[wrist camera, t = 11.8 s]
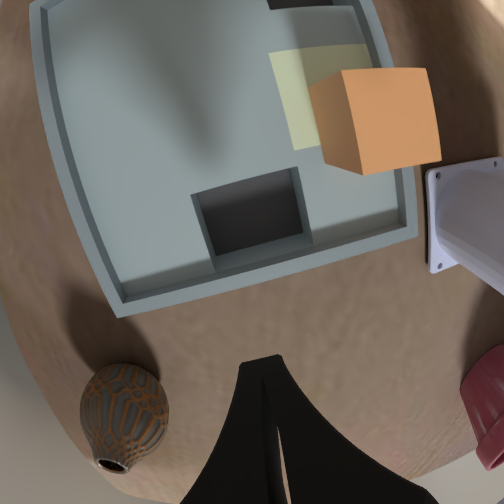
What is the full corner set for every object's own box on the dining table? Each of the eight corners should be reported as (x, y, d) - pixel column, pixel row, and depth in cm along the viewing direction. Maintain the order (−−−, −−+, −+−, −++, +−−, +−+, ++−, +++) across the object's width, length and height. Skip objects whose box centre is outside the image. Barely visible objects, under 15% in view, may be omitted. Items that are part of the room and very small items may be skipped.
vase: (80, 364, 21) (45, 443, 13) (134, 337, 20) (104, 432, 12) (132, 412, 23) (116, 489, 15) (189, 392, 23) (183, 482, 15)
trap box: (319, -51, 11) (334, -75, 8) (390, 219, 19) (418, 236, 15) (54, 18, 11) (29, 4, 8) (131, 290, 19) (117, 318, 16)
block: (376, 80, 13) (425, 68, 9) (390, 150, 14) (441, 160, 10) (307, 87, 13) (340, 70, 9) (324, 163, 14) (363, 175, 10)
